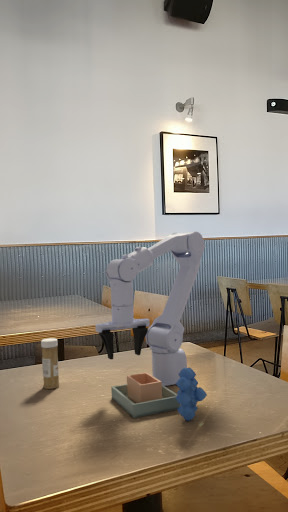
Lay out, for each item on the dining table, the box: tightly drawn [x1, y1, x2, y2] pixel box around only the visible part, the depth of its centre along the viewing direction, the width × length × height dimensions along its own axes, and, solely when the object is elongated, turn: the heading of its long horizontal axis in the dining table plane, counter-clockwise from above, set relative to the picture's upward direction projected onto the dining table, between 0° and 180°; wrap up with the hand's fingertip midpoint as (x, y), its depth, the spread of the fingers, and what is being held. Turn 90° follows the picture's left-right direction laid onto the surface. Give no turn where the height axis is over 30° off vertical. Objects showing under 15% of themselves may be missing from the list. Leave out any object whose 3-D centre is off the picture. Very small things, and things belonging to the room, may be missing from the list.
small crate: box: [126, 371, 162, 404], centre depth 109 cm, size 6×9×6 cm, turn 23°
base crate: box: [111, 383, 180, 419], centre depth 109 cm, size 12×15×3 cm
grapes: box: [175, 367, 208, 422], centre depth 97 cm, size 12×7×12 cm, turn 162°
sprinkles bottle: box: [40, 337, 60, 390], centre depth 125 cm, size 5×5×14 cm
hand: (124, 356), depth 117 cm, fingers open, 7 cm apart
